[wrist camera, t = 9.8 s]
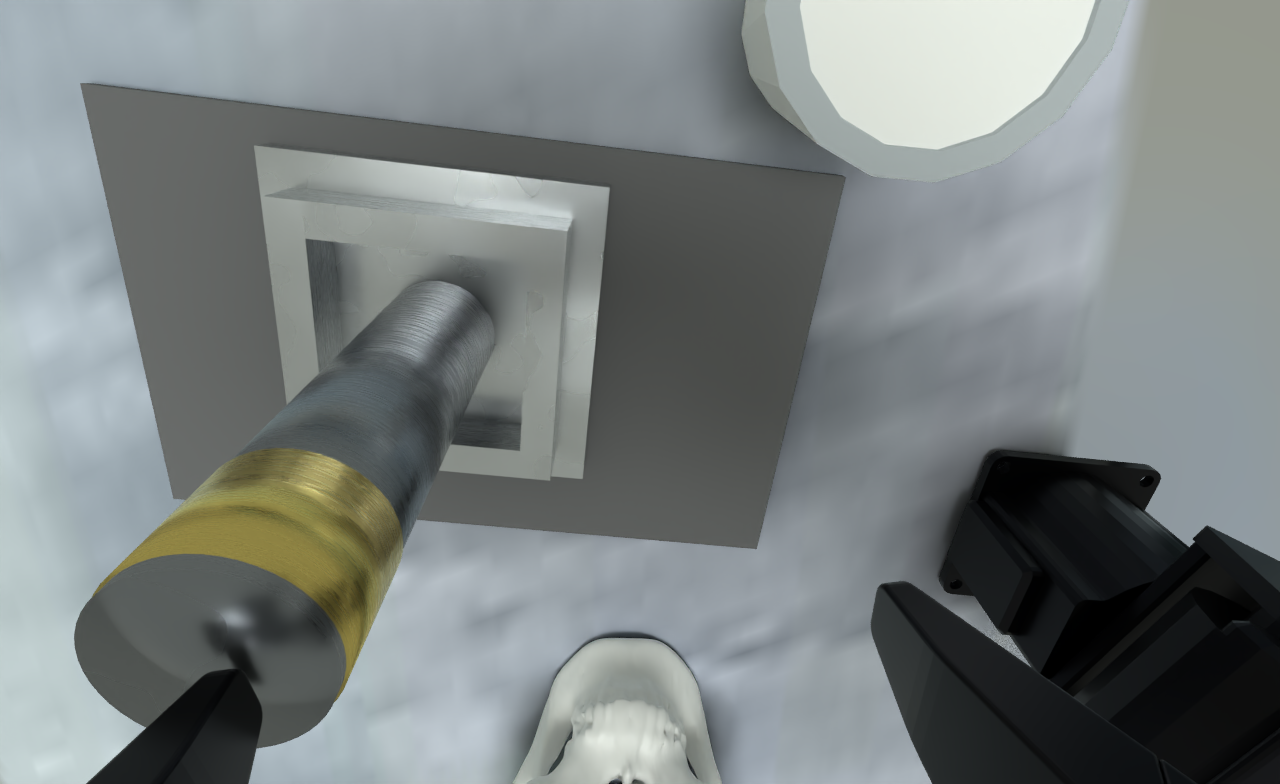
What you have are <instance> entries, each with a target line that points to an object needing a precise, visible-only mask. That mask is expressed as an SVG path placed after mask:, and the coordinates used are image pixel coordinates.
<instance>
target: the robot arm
mask: <svg viewBox="0 0 1280 784" xmlns="http://www.w3.org/2000/svg"><path fill="white" fill-rule="evenodd" d="M1003 462H1005V464H1004V465H1003V466H1002V467H1000V468H997V467H998V466H999V464H1001V463H1003ZM1143 477H1145V478H1144V479H1142V478H1143ZM1141 479H1142V480H1141ZM1160 479H1161V476H1160V474H1159V473H1158V472H1157V471H1156V470H1155V469H1153V468H1152V467H1151V466H1149V465H1145V464H1137V463H1126V462H1116V461H1106V460H1096V459H1086V458H1076V457H1065V456H1055V455H1045V454H1035V453H1024V452H1014V451H1004V450H1003V451H996V452H994V453H992V454H991V455H990V456H988V458H987V460H986V461H985V464H984V466H983V469H982V471H981V474H980V477H979V479H978V482H977V484H976V487H975V489H974V492H973V494H972V497H971V499H970V502H969V503H968V505H967V506H966V508H965V511H964V513H963V516H962V518H961V521H960V523H959V526H958V529H957V531H956V534H955V536H954V539H953V541H952V544H951V546H950V549H949V551H948V557H947V560H946V562H945V565H944V567H943V570H942V572H941V575H940V578H939V581H940V584H941V585H942V587H943V588H944V590H945V591H946V592H947V593H950V594H958V595H970V596H975V597H976V599H977V600H978V602H979V603H980V605H981V606H982V608H983V609H984V611H985V612H986V614H987V615H988V616H989V618H990V619H991V621H992V622H993V624H994V625H995V627H996V628H997V630H998V631H999V632H1000V633H1001V634H1002V635H1010V637H1011V638H1012V640H1013V641H1014V642H1015V644H1016V645H1017V647H1018V648H1019V650H1020V651H1021V653H1022V654H1023V656H1024V657H1025V658H1026V660H1027V661H1028V663H1029V664H1030V666H1031V667H1032V668H1031V667H1030V666H1028V665H1027V664H1025V663H1024V662H1023V661H1021V660H1020V659H1018V658H1017V657H1015V656H1014V655H1013V654H1011V653H1010V652H1008V651H1007V650H1005V649H1004V648H1003V647H1001V646H1000V645H998V644H997V643H995V642H994V641H993V640H991V639H990V638H988V637H987V636H985V635H984V634H983V633H981V632H980V631H978V630H977V629H975V628H974V627H973V626H971V625H970V624H968V623H967V622H965V621H964V620H963V619H961V618H960V617H958V616H957V615H955V614H954V613H953V612H951V611H950V610H948V609H947V608H945V607H944V606H943V605H941V604H940V603H938V602H937V601H935V600H934V599H933V598H931V597H930V596H928V595H927V594H925V593H924V592H923V591H921V590H920V589H918V588H917V587H915V586H914V585H912V584H911V583H909V582H906V581H899V582H891V583H884V584H881V585H880V586H879V587H878V589H877V592H876V598H875V603H874V608H873V613H872V619H871V631H872V636H873V639H874V642H875V645H876V647H877V650H878V653H879V656H880V658H881V661H882V664H883V666H884V669H885V672H886V674H887V677H888V680H889V683H890V685H891V688H892V691H893V693H894V696H895V699H896V701H897V704H898V707H899V709H900V712H901V715H902V718H903V720H904V723H905V725H906V728H907V730H908V733H909V736H910V738H911V740H912V743H913V745H914V747H915V749H916V751H917V753H918V756H919V758H920V760H921V762H922V764H923V766H924V768H925V770H926V772H927V774H928V776H929V778H930V780H931V782H932V784H1280V561H1278V560H1276V559H1274V558H1272V557H1270V556H1268V555H1266V554H1264V553H1262V552H1260V551H1258V550H1255V549H1254V548H1251V547H1250V546H1248V545H1245V544H1244V543H1242V542H1240V541H1238V540H1236V539H1234V538H1232V537H1230V536H1228V535H1225V534H1224V533H1222V532H1220V531H1217V530H1215V529H1213V528H1211V527H1209V526H1206V527H1205V528H1204V529H1203V530H1201V531H1200V532H1199V533H1198V534H1197V535H1196V536H1195V537H1194V538H1193V540H1194V541H1195V543H1193V544H1192V545H1191V546H1190V547H1188V546H1187V545H1186V544H1184V543H1183V542H1182V541H1181V540H1180V539H1178V538H1177V537H1176V536H1175V535H1174V534H1172V533H1171V532H1170V531H1169V530H1168V529H1166V528H1165V527H1164V526H1162V525H1161V524H1160V523H1159V522H1158V521H1157V520H1155V519H1154V518H1153V517H1152V516H1150V515H1149V514H1148V513H1147V512H1146V511H1145V509H1146V507H1147V505H1148V503H1149V501H1150V499H1151V497H1152V496H1153V494H1154V492H1155V490H1156V488H1157V486H1158V484H1159V482H1160ZM1140 480H1141V481H1140ZM953 580H956V581H954V582H952V581H953ZM262 719H263V712H262V706H261V703H260V701H259V699H258V697H257V695H256V693H255V692H254V690H253V688H252V686H251V684H250V682H249V680H248V678H247V676H246V674H245V672H244V671H242V670H241V669H239V668H233V669H225V670H217V671H212V672H209V673H206V674H205V675H203V676H202V677H201V678H200V679H198V680H197V681H196V682H195V683H194V684H193V685H192V686H191V687H190V688H189V689H188V690H187V691H186V692H184V693H183V694H182V695H181V696H180V697H179V698H178V699H177V700H176V701H175V702H174V703H173V704H172V705H170V706H169V707H168V708H167V709H166V710H165V711H164V712H163V713H162V714H161V715H160V716H159V717H158V718H156V719H155V720H154V721H153V722H152V723H151V724H150V725H149V726H148V727H147V728H146V729H145V730H144V731H142V732H141V733H140V734H139V735H138V736H137V737H136V738H135V739H134V740H133V741H132V742H131V743H130V744H128V745H127V746H126V747H125V748H124V749H123V750H122V751H121V752H120V753H119V754H118V755H117V756H116V757H114V758H113V759H112V760H111V761H110V762H109V763H108V764H107V765H106V766H105V767H104V768H103V769H102V770H100V771H99V772H98V773H97V774H96V775H95V776H94V777H93V778H92V779H91V780H90V781H89V782H88V783H86V784H248V783H249V779H250V775H251V770H252V766H253V761H254V757H255V752H256V748H257V744H258V739H259V735H260V730H261V726H262Z"/></svg>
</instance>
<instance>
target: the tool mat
mask: <svg viewBox="0 0 1280 784" xmlns="http://www.w3.org/2000/svg"><path fill="white" fill-rule="evenodd" d="M80 84H81V89H82V93H83V98H84V102H85V107H86V111H87V115H88V120H89V124H90V129H91V133H92V138H93V142H94V147H95V151H96V155H97V160H98V164H99V169H100V173H101V178H102V182H103V187H104V191H105V196H106V200H107V204H108V209H109V213H110V218H111V222H112V227H113V231H114V236H115V240H116V245H117V249H118V253H119V258H120V262H121V267H122V271H123V276H124V280H125V285H126V289H127V293H128V298H129V302H130V307H131V311H132V316H133V320H134V325H135V329H136V334H137V338H138V342H139V347H140V351H141V356H142V360H143V365H144V369H145V374H146V378H147V383H148V387H149V391H150V396H151V400H152V405H153V409H154V414H155V418H156V423H157V427H158V432H159V436H160V440H161V445H162V449H163V454H164V458H165V463H166V467H167V472H168V476H169V480H170V485H171V489H172V494H173V498H174V499H184V500H186V499H187V498H188V497H189V496H190V495H191V494H192V493H194V492H195V491H196V490H197V489H198V488H199V487H200V486H201V485H202V484H203V483H204V482H205V481H206V480H207V479H208V478H209V477H210V476H211V475H212V474H213V473H214V472H215V471H216V470H217V469H218V468H219V467H221V466H222V465H224V464H225V463H226V462H228V461H230V460H232V459H233V458H234V457H235V456H236V455H237V454H238V453H239V452H240V451H241V450H242V449H243V448H244V447H245V446H246V445H247V444H248V443H249V442H250V441H251V440H252V439H253V438H254V437H255V436H256V435H257V434H258V433H259V432H260V431H261V430H262V429H263V428H264V427H265V426H266V425H267V424H268V423H269V422H270V421H271V420H272V419H273V418H274V417H275V416H276V415H277V414H278V413H279V412H280V411H281V410H282V409H283V408H284V407H285V406H286V405H287V402H286V394H285V386H284V378H283V370H282V363H281V355H280V347H279V339H278V331H277V323H276V315H275V307H274V300H273V292H272V284H271V276H270V268H269V260H268V252H267V244H266V237H265V229H264V221H263V213H262V205H261V197H260V189H259V181H258V174H257V166H256V158H255V150H254V145H260V144H266V143H271V144H279V145H288V146H296V147H304V148H313V149H321V150H330V151H338V152H346V153H355V154H363V155H372V156H380V157H388V158H397V159H405V160H414V161H422V162H430V163H439V164H447V165H456V166H464V167H472V168H481V169H489V170H498V171H506V172H514V173H523V174H531V175H539V176H548V177H556V178H565V179H573V180H581V181H590V182H598V183H607V184H610V194H609V205H608V216H607V226H606V237H605V248H604V259H603V269H602V280H601V291H600V301H599V312H598V323H597V334H596V344H595V355H594V366H593V376H592V387H591V398H590V409H589V419H588V430H587V441H586V451H585V462H584V472H583V479H576V478H565V477H554V476H551V479H550V481H548V480H537V479H526V478H515V477H504V476H493V475H482V474H471V473H460V472H449V471H438V473H437V475H436V478H435V480H434V482H433V484H432V486H431V489H430V491H429V493H428V495H427V497H426V500H425V502H424V504H423V506H422V509H421V511H420V513H419V515H418V517H417V520H427V521H439V522H450V523H462V524H474V525H485V526H497V527H508V528H520V529H532V530H543V531H555V532H566V533H578V534H590V535H601V536H613V537H625V538H636V539H648V540H659V541H671V542H683V543H694V544H706V545H717V546H729V547H741V548H752V549H757V545H758V541H759V537H760V533H761V529H762V524H763V520H764V516H765V512H766V508H767V503H768V499H769V495H770V491H771V487H772V483H773V478H774V474H775V470H776V466H777V462H778V458H779V453H780V449H781V445H782V441H783V437H784V433H785V428H786V424H787V420H788V416H789V412H790V408H791V403H792V399H793V395H794V391H795V387H796V382H797V378H798V374H799V370H800V366H801V362H802V357H803V353H804V349H805V345H806V341H807V337H808V332H809V328H810V324H811V320H812V316H813V312H814V307H815V303H816V299H817V295H818V291H819V286H820V282H821V278H822V274H823V270H824V266H825V261H826V257H827V253H828V249H829V245H830V241H831V236H832V232H833V228H834V224H835V220H836V216H837V211H838V207H839V203H840V199H841V195H842V190H843V186H844V182H845V178H846V177H844V176H842V175H834V174H825V173H817V172H809V171H801V170H793V169H785V168H776V167H768V166H760V165H752V164H744V163H736V162H727V161H719V160H711V159H703V158H695V157H687V156H678V155H670V154H662V153H654V152H646V151H638V150H630V149H621V148H613V147H605V146H597V145H589V144H581V143H572V142H564V141H556V140H548V139H540V138H532V137H523V136H515V135H507V134H499V133H491V132H483V131H474V130H466V129H458V128H450V127H442V126H434V125H426V124H417V123H409V122H401V121H393V120H385V119H377V118H368V117H360V116H352V115H344V114H336V113H328V112H319V111H311V110H303V109H295V108H287V107H279V106H271V105H262V104H254V103H246V102H238V101H230V100H222V99H213V98H205V97H197V96H189V95H181V94H173V93H164V92H156V91H148V90H140V89H132V88H124V87H115V86H107V85H99V84H90V83H80Z"/></svg>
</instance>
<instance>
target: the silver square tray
mask: <svg viewBox="0 0 1280 784" xmlns="http://www.w3.org/2000/svg"><path fill="white" fill-rule="evenodd" d="M254 150H255V158H256V166H257V174H258V181H259V189H260V197H261V205H262V213H263V221H264V229H265V237H266V244H267V252H268V260H269V268H270V276H271V284H272V292H273V300H274V307H275V315H276V323H277V331H278V339H279V347H280V355H281V363H282V370H283V378H284V386H285V394H286V402H287V404H288V403H289V402H290V401H291V400H292V399H293V398H294V397H295V396H296V395H297V394H298V393H299V392H300V391H301V390H302V389H303V388H304V387H305V386H306V385H307V384H308V383H309V382H310V381H311V380H312V379H314V378H315V377H316V376H317V375H318V374H319V373H320V372H321V371H322V370H323V369H324V368H325V367H326V366H327V365H328V364H329V363H330V362H331V361H332V360H333V359H334V358H335V357H336V356H337V355H338V354H339V353H340V352H341V351H342V350H343V349H344V348H345V347H346V346H347V345H348V344H349V343H350V342H351V341H352V340H353V339H354V338H355V337H356V336H357V335H358V334H359V333H360V332H361V331H362V330H363V329H364V328H365V327H366V326H367V325H368V324H369V323H370V322H371V321H372V320H373V319H374V318H375V317H376V316H377V315H378V314H379V313H380V312H381V311H382V310H383V309H384V308H385V307H386V306H387V305H388V304H389V303H390V302H391V301H392V300H393V299H394V298H395V297H396V296H397V295H398V294H399V293H400V292H402V291H403V290H405V289H406V288H408V287H410V286H412V285H414V284H417V283H421V282H426V281H441V282H447V283H450V284H454V285H456V286H459V287H461V288H463V289H465V290H466V291H468V292H469V293H471V294H472V295H473V296H475V297H476V298H477V299H478V300H479V301H480V302H481V304H482V305H483V306H484V307H485V309H486V311H487V312H488V314H489V316H490V318H491V321H492V324H493V328H494V338H495V339H494V347H493V351H492V353H491V356H490V358H489V360H488V363H487V365H486V367H485V369H484V371H483V374H482V376H481V378H480V380H479V382H478V385H477V387H476V389H475V391H474V394H473V396H472V398H471V400H470V402H469V405H468V407H467V409H466V411H465V413H464V416H463V418H462V420H461V422H460V424H459V427H458V429H457V431H456V433H455V436H454V438H453V440H452V442H451V444H450V447H449V449H448V451H447V453H446V455H445V458H444V460H443V462H442V464H441V467H440V469H439V471H449V472H460V473H471V474H482V475H493V476H504V477H515V478H526V479H537V480H548V481H550V479H551V476H554V477H565V478H576V479H583V472H584V462H585V451H586V441H587V430H588V419H589V409H590V398H591V387H592V376H593V366H594V355H595V344H596V334H597V323H598V312H599V301H600V291H601V280H602V269H603V259H604V248H605V237H606V226H607V216H608V205H609V194H610V184H607V183H598V182H590V181H581V180H573V179H565V178H556V177H548V176H539V175H531V174H523V173H514V172H506V171H498V170H489V169H481V168H472V167H464V166H456V165H447V164H439V163H430V162H422V161H414V160H405V159H397V158H388V157H380V156H372V155H363V154H355V153H346V152H338V151H330V150H321V149H313V148H304V147H296V146H288V145H279V144H271V143H266V144H260V145H254Z"/></svg>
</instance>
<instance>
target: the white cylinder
mask: <svg viewBox="0 0 1280 784" xmlns="http://www.w3.org/2000/svg"><path fill="white" fill-rule="evenodd" d="M1128 3H1129V0H746V3H745V10H744V17H743V24H742V32H741V36H742V41H743V45H744V50H745V55H746V59H747V64H748V69H749V73H750V76H751V78H752V79H753V81H754V82H755V84H756V85H757V87H758V88H759V90H760V91H761V93H762V94H763V96H764V97H765V99H766V100H767V101H768V103H769V104H770V106H771V107H772V108H773V109H774V110H775V111H777V112H778V113H779V114H780V115H782V116H783V117H784V118H785V119H787V120H788V121H789V122H790V123H792V124H793V125H794V126H795V127H797V128H798V129H799V130H800V131H802V132H803V133H804V134H805V135H807V136H808V137H809V138H810V139H812V140H813V141H814V142H815V143H817V144H818V145H820V146H821V147H823V148H825V149H826V150H828V151H830V152H831V153H833V154H835V155H836V156H838V157H840V158H841V159H843V160H845V161H846V162H848V163H850V164H851V165H853V166H855V167H856V168H858V169H860V170H861V171H863V172H865V173H866V174H868V175H870V176H871V177H881V178H892V179H902V180H912V181H922V182H932V183H935V182H938V181H942V180H945V179H948V178H951V177H955V176H958V175H961V174H965V173H968V172H971V171H974V170H978V169H981V168H984V167H987V166H991V165H994V164H997V163H1000V162H1002V161H1003V160H1005V159H1006V158H1007V157H1009V156H1010V155H1011V154H1013V153H1014V152H1015V151H1017V150H1018V149H1019V148H1021V147H1022V146H1024V145H1025V144H1026V143H1028V142H1029V141H1030V140H1032V139H1033V138H1034V137H1036V136H1037V135H1038V134H1040V133H1041V132H1043V131H1044V130H1045V129H1047V128H1048V127H1049V126H1051V125H1052V124H1053V123H1055V122H1056V121H1057V120H1059V119H1060V118H1062V117H1063V115H1064V114H1065V113H1066V111H1067V110H1068V108H1069V107H1070V106H1071V104H1072V103H1073V102H1074V100H1075V99H1076V98H1077V96H1078V95H1079V94H1080V92H1081V91H1082V89H1083V88H1084V87H1085V85H1086V84H1087V83H1088V81H1089V80H1090V79H1091V77H1092V76H1093V75H1094V73H1095V72H1096V71H1097V69H1098V68H1099V66H1100V65H1101V64H1102V62H1103V61H1104V60H1105V58H1106V57H1107V56H1108V54H1109V53H1110V52H1111V50H1112V48H1113V45H1114V42H1115V39H1116V37H1117V34H1118V31H1119V28H1120V25H1121V22H1122V20H1123V17H1124V14H1125V11H1126V8H1127V6H1128Z"/></svg>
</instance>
